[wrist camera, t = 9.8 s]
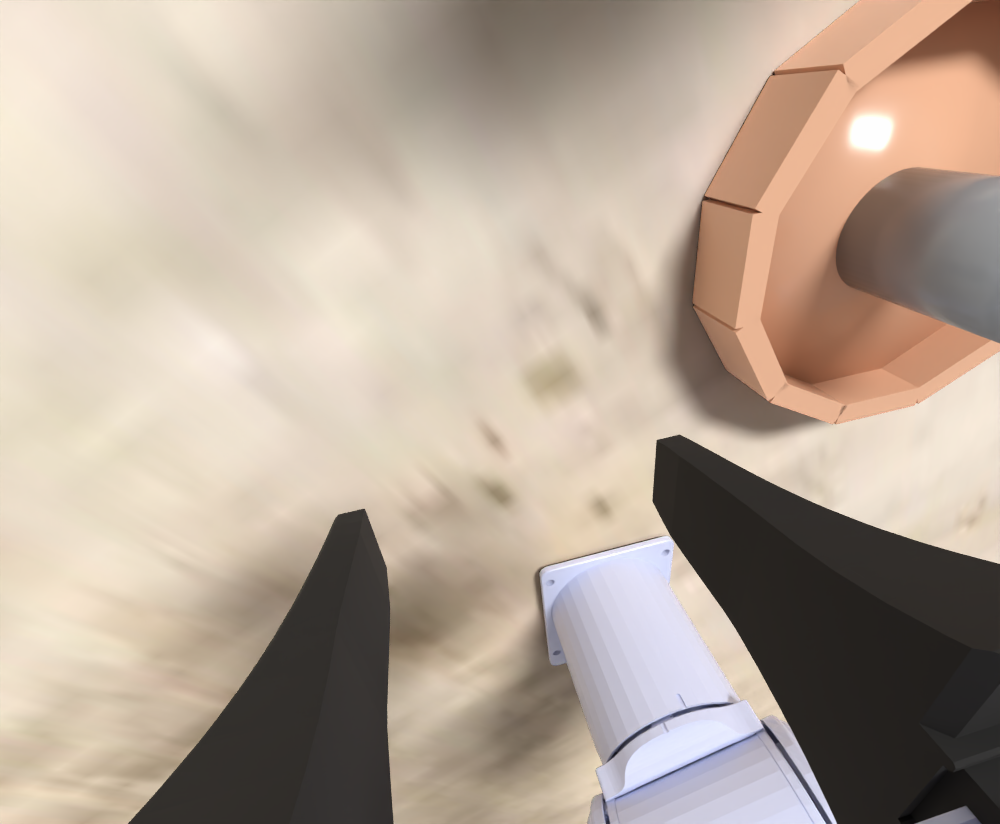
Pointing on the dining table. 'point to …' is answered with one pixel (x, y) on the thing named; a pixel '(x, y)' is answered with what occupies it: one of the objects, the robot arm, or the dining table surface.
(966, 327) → the grey cylinder
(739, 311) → the bowl
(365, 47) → the dining table surface
